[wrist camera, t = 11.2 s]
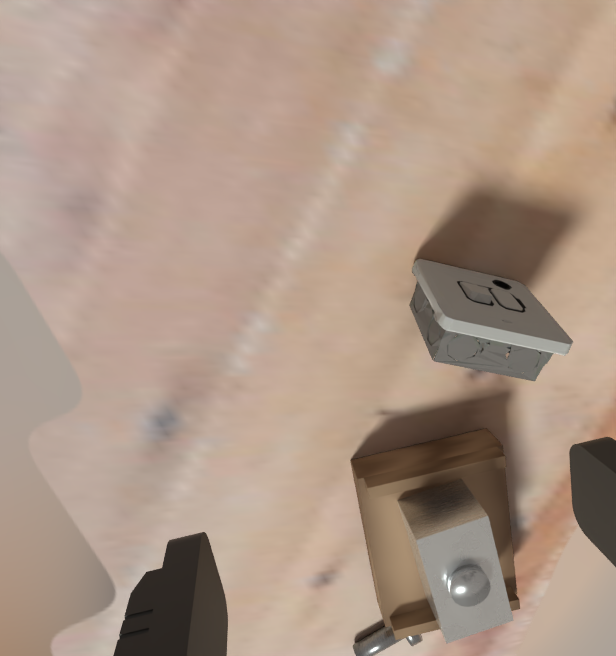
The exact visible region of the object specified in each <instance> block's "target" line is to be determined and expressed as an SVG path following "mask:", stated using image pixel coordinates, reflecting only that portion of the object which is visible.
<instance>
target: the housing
mask: <svg viewBox="0 0 616 656" xmlns="http://www.w3.org/2000/svg"><path fill="white" fill-rule="evenodd" d="M397 501H398V505H399V508H400V511H401V515H402V518H403V521H404V525H405V528H406V531H407V535H408V538H409V541H410V545H411V548H412V551H413V555H414V558H415V561H416V565H417V568H418V571H419V575H420V578H421V581H422V585H423V588H424V592H425V595H426V597H427V600H428V602H429V604H430V607H431V609H432V611H433V613H434V616H435V618H436V620H437V623H438V625H439V627H440V630H441V632H442V634H443V637H444V639H445V641H446V644H447V643H450V642H452V641H455V640H458V639H461V638H464V637H467V636H470V635H473V634H476V633H478V632H481V631H484V630H487V629H490V628H493V627H496V626H499V625H502V624H505V623H507V622H510V621H513V616H512V612H511V608H510V604H509V600H508V596H507V592H506V587H505V583H504V579H503V575H502V571H501V567H500V563H499V558H498V554H497V550H496V546H495V542H494V538H493V534H492V529H491V525H490V521H489V517H488V515H487V513H486V512H485V511H484V509H483V508H482V506H481V505H480V504H479V502H478V501H477V500H476V498H475V497H474V495H473V494H472V493H471V491H470V490H469V488H468V487H467V486H466V484H465V483H464V481H463V480H462V479H459V480H456V481H453V482H450V483H447V484H444V485H441V486H438V487H435V488H432V489H429V490H426V491H423V492H420V493H417V494H414V495H411V496H408V497H405V498H402V499H399V500H397Z"/></svg>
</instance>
